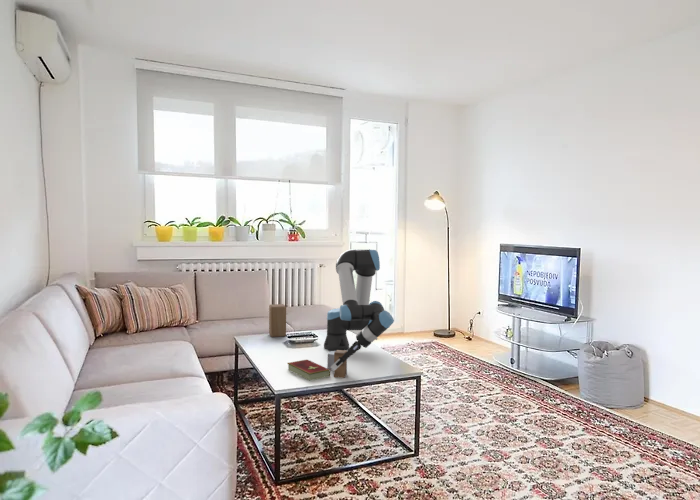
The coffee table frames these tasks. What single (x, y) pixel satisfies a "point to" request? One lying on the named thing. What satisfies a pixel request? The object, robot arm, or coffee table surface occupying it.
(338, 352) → the walnut block
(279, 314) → the block
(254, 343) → the coffee table surface
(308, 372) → the hardcover book
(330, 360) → the grey block
